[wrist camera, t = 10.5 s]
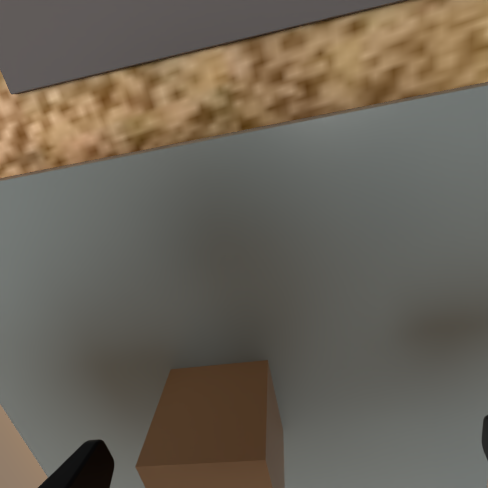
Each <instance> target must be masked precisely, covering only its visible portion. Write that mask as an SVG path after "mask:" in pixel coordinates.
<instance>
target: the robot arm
mask: <svg viewBox="0 0 488 488" xmlns="http://www.w3.org/2000/svg"><path fill="white" fill-rule="evenodd" d="M481 442H482V447H483V451H484V453H485V456H486V458H487V460H488V415H486V416H485V417H484V419H483V428H482V439H481ZM113 472H114V459H113V457H112V455H111V453H110V451H109V449H108V447H107V446H106V444H105V442H104V441H103V440H101V439H98V440H88V441H86V442H84V443H83V444H82V445H81V446H80V447H79V448H78V449H77V450H76V451H75V452H74V453H73V454H72V455H71V456H70V457H69V458H68V459H67V460H66V461H65V462H64V463H63V464H62V465H61V466H60V467H59V468H58V469H57V470H55V471H54V472H53V473H52V474H51V475H50V476H49V477H48V478H47V479H46V480H45V481H44V482H43V483H42V485H40V486H39V487H38V488H110V485H111V481H112V476H113Z"/></svg>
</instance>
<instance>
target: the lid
mask: <svg viewBox="0 0 488 488" xmlns="http://www.w3.org/2000/svg"><path fill="white" fill-rule="evenodd" d="M0 404H1V406H2V407H3V409H4V410H5V412H6V413H7V415H8V416H9V418H10V420H11V421H12V423H13V424H14V426H15V427H16V429H17V430H18V432H19V433H20V435H21V437H22V438H23V440H24V441H25V443H26V444H27V446H28V447H29V449H30V450H31V452H32V453H33V455H34V457H35V458H36V459H37V461H38V463H39V464H40V466H41V467H42V469H43V470H44V472H45V473H46V475H47V476H48V477H49V476H50V475H51V474H52V473H53V472H54V471H55V470H57V469H58V468H59V467H60V466H61V465H62V464H63V463H64V462H65V461H66V460H67V459H68V458H69V457H70V456H71V455H72V454H73V453H74V452H75V451H76V450H77V449H78V448H79V447H80V446H81V445H82V444H83V443H84V442H86V441H88V440H98V439H101V440H103V441H104V442H105V444H106V446H107V447H108V449H109V451H110V453H111V455H112V457H113V459H114V472H113V476H112V481H111V485H110V488H487V484H488V460H487V458H486V456H485V453H484V451H483V447H482V442H481V439H482V428H483V419H484V417H485V416H486V415H488V82H485V83H480V84H475V85H470V86H465V87H460V88H455V89H450V90H444V91H439V92H434V93H429V94H424V95H419V96H414V97H409V98H404V99H399V100H394V101H389V102H384V103H379V104H374V105H369V106H364V107H358V108H353V109H348V110H343V111H338V112H333V113H328V114H323V115H318V116H313V117H308V118H303V119H298V120H293V121H288V122H283V123H278V124H272V125H267V126H262V127H257V128H252V129H247V130H242V131H237V132H232V133H227V134H222V135H217V136H212V137H207V138H202V139H197V140H192V141H187V142H181V143H176V144H171V145H166V146H161V147H156V148H151V149H146V150H141V151H136V152H131V153H126V154H121V155H116V156H111V157H106V158H101V159H95V160H90V161H85V162H80V163H75V164H70V165H65V166H60V167H55V168H50V169H45V170H40V171H35V172H30V173H25V174H20V175H15V176H10V177H4V178H0Z"/></svg>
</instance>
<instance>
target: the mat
mask: <svg viewBox="0 0 488 488" xmlns="http://www.w3.org/2000/svg"><path fill="white" fill-rule="evenodd" d="M403 1H407V0H0V70H1V72H2V75H3V77H4V79H5V82H6V84H7V86H8V89H9V91H10V93H11V94H20V93H24V92H28V91H32V90H36V89H40V88H45V87H49V86H53V85H57V84H61V83H65V82H70V81H74V80H78V79H82V78H86V77H91V76H95V75H99V74H103V73H107V72H111V71H116V70H120V69H124V68H128V67H132V66H136V65H141V64H145V63H149V62H153V61H157V60H161V59H166V58H170V57H174V56H178V55H182V54H186V53H191V52H195V51H199V50H203V49H207V48H211V47H216V46H220V45H224V44H228V43H232V42H236V41H241V40H245V39H249V38H253V37H257V36H261V35H266V34H270V33H274V32H278V31H282V30H287V29H291V28H295V27H299V26H303V25H307V24H312V23H316V22H320V21H324V20H328V19H332V18H337V17H341V16H345V15H349V14H353V13H357V12H362V11H366V10H370V9H374V8H378V7H382V6H387V5H391V4H395V3H399V2H403Z"/></svg>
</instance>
